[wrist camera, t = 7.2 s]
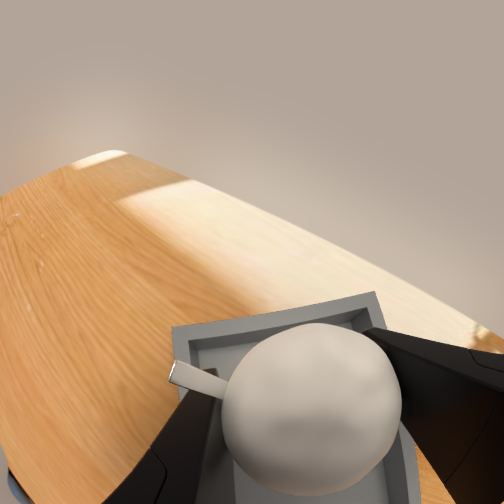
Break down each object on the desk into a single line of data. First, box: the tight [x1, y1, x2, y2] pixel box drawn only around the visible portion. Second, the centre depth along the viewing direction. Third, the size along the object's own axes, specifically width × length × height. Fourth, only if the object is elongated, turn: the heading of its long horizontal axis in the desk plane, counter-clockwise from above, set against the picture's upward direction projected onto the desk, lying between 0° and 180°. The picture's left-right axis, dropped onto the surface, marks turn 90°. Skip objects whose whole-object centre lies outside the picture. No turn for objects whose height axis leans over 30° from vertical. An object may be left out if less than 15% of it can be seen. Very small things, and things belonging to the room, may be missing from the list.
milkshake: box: [168, 323, 402, 496], centre depth 8 cm, size 5×5×10 cm
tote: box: [171, 291, 421, 504], centre depth 14 cm, size 20×14×4 cm
